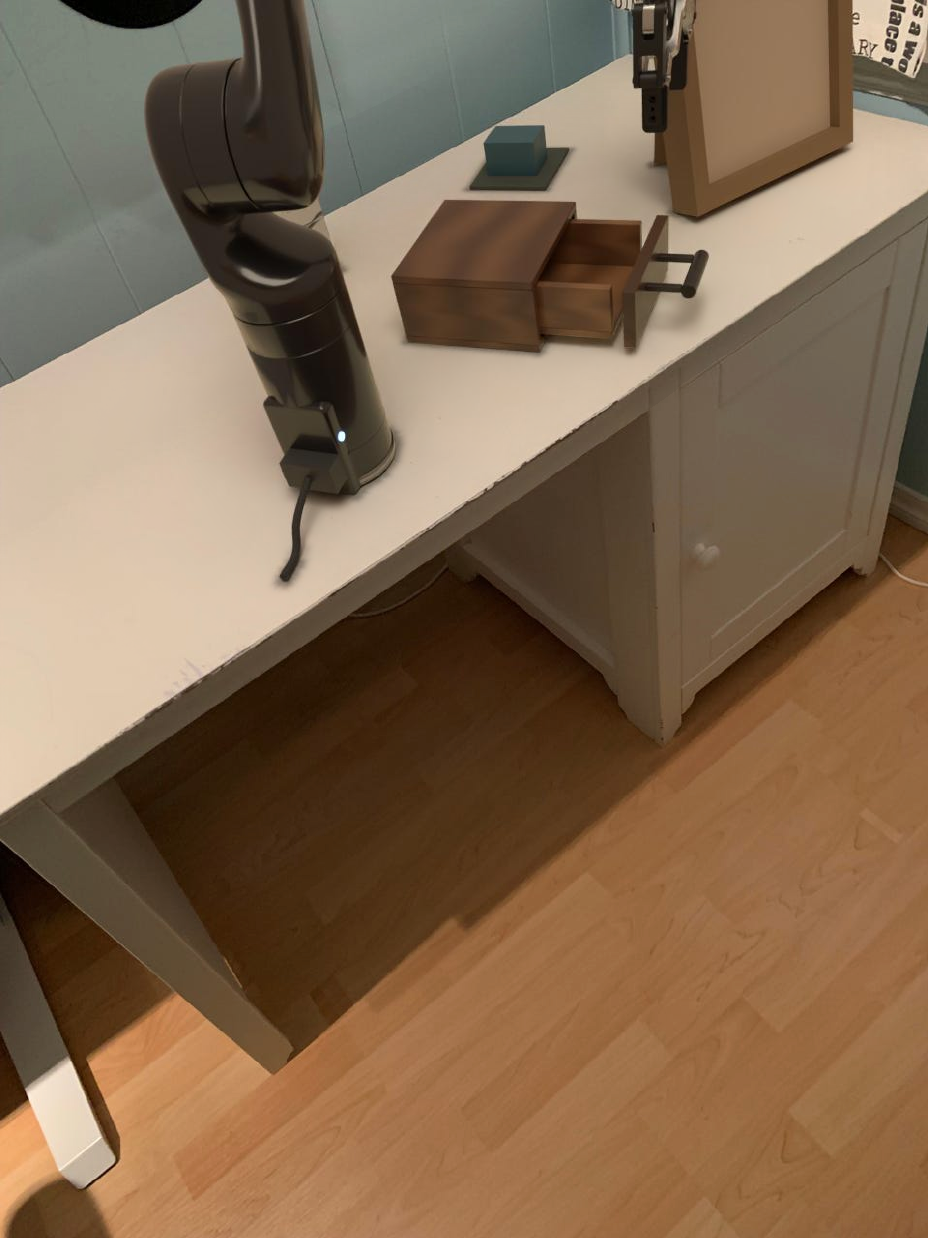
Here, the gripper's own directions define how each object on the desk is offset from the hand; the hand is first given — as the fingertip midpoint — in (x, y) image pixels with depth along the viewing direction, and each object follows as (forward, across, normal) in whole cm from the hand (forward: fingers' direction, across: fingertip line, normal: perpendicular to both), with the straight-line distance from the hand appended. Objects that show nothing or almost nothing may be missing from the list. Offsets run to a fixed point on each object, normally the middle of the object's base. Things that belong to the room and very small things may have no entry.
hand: (665, 108), depth 79 cm
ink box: (+16, -2, +42) cm, 45 cm away
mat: (+16, +22, +23) cm, 35 cm away
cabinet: (+16, -8, +16) cm, 24 cm away
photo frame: (+16, +22, -3) cm, 28 cm away
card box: (+15, +22, +23) cm, 35 cm away
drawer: (+15, -8, +4) cm, 17 cm away
